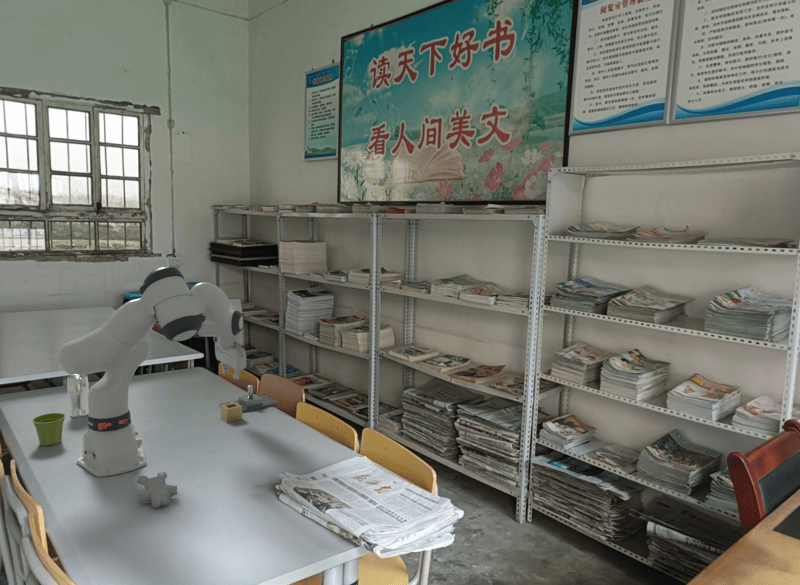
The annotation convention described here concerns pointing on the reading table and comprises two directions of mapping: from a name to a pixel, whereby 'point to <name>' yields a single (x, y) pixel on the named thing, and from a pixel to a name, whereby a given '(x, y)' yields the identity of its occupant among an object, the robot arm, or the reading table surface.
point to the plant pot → (49, 428)
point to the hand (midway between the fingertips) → (231, 375)
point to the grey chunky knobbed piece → (156, 490)
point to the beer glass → (78, 394)
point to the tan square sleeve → (231, 412)
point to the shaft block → (253, 401)
